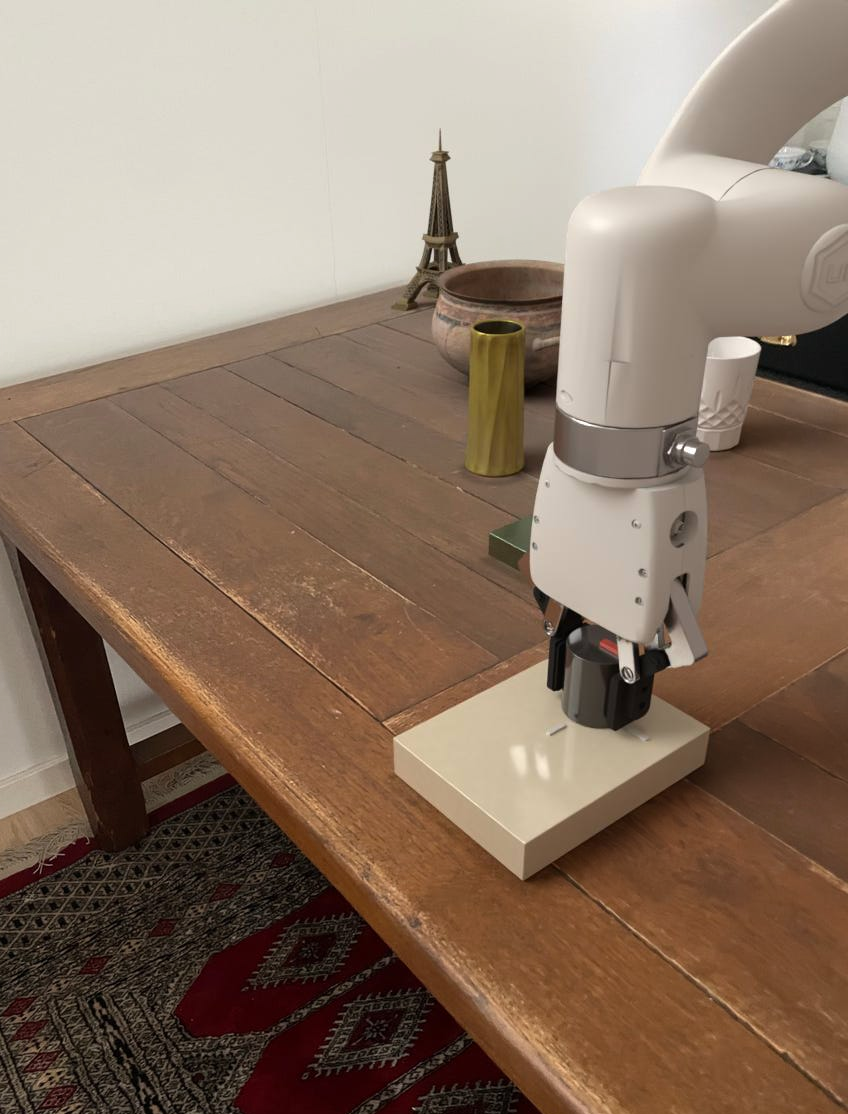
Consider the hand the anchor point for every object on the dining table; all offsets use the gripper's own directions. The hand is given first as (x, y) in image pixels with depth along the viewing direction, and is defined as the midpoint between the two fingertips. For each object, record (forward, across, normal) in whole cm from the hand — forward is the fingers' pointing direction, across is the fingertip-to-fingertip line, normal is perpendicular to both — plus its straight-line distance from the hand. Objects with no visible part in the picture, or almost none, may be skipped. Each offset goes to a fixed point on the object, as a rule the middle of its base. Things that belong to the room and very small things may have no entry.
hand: (596, 698), depth 66 cm
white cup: (+4, +27, -46) cm, 54 cm away
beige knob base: (+4, 0, +4) cm, 5 cm away
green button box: (+4, +19, -18) cm, 26 cm away
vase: (+4, +37, -25) cm, 45 cm away
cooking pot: (+4, +54, -43) cm, 69 cm away
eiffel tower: (+4, +86, -57) cm, 103 cm away
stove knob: (+1, 0, 0) cm, 1 cm away
